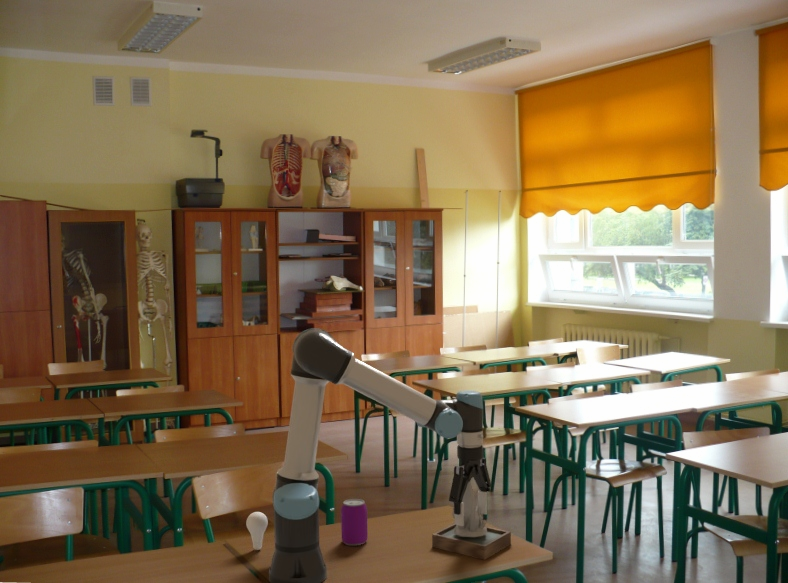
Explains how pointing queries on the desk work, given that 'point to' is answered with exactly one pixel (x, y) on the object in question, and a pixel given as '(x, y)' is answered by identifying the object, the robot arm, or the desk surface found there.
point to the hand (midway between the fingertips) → (471, 519)
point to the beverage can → (354, 522)
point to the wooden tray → (472, 542)
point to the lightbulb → (257, 528)
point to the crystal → (470, 517)
